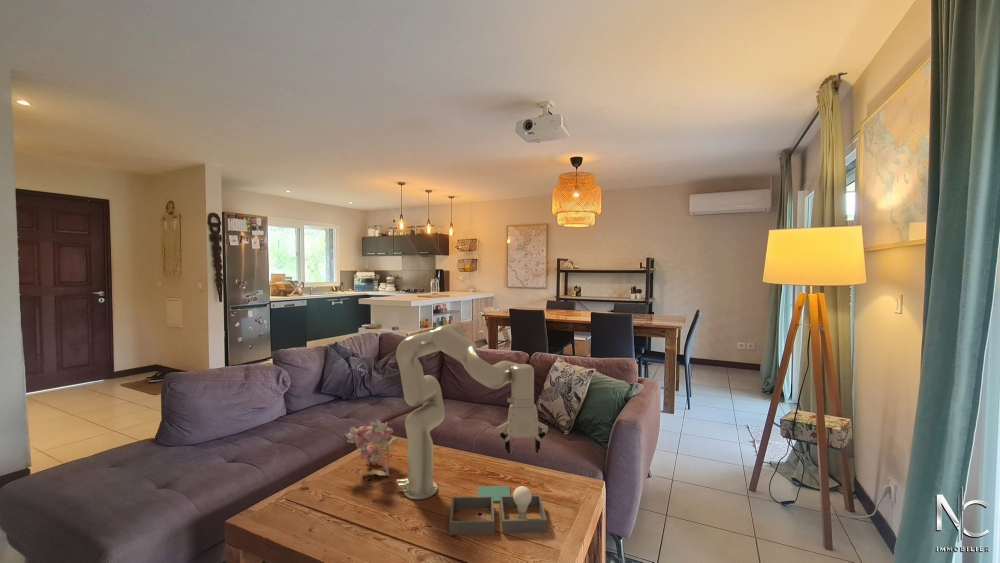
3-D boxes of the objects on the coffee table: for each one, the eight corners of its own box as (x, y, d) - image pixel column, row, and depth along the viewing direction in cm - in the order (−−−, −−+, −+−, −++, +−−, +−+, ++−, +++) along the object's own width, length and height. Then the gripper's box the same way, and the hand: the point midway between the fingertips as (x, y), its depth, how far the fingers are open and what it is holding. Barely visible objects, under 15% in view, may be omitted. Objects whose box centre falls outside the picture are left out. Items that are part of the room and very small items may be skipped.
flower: (418, 456, 183) (396, 403, 185) (401, 476, 160) (376, 417, 163) (378, 474, 184) (356, 421, 186) (356, 497, 162) (331, 437, 164)
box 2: (502, 533, 133) (502, 521, 133) (500, 506, 147) (500, 495, 147) (546, 531, 134) (546, 519, 134) (540, 505, 148) (540, 495, 148)
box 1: (449, 534, 132) (449, 522, 132) (452, 508, 147) (452, 497, 146) (494, 533, 133) (494, 521, 133) (492, 507, 147) (492, 496, 147)
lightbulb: (511, 513, 144) (512, 482, 143) (529, 512, 144) (530, 482, 144) (514, 525, 137) (514, 492, 137) (532, 524, 138) (533, 492, 137)
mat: (478, 502, 150) (478, 501, 150) (478, 487, 160) (478, 486, 160) (511, 502, 150) (511, 500, 150) (509, 487, 160) (509, 485, 160)
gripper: (497, 405, 135) (497, 457, 135) (550, 405, 136) (549, 456, 136) (496, 398, 142) (496, 447, 143) (546, 397, 143) (546, 446, 144)
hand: (522, 451), depth 140 cm, fingers open, 9 cm apart
